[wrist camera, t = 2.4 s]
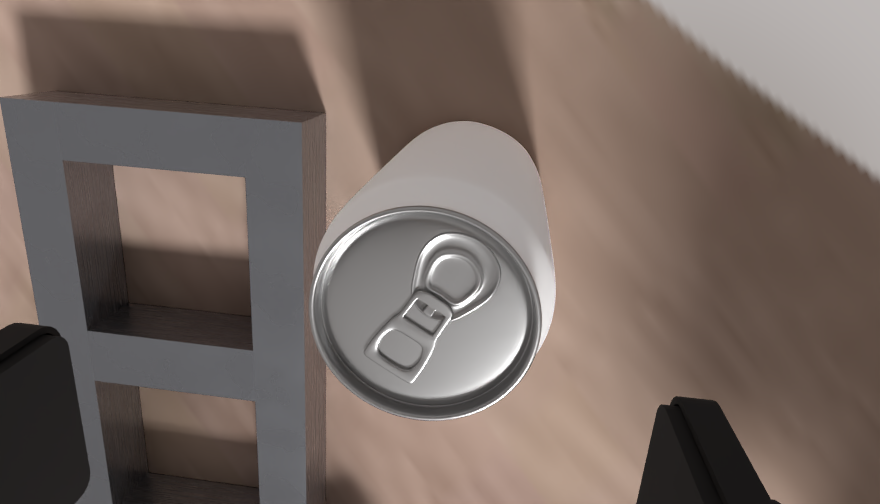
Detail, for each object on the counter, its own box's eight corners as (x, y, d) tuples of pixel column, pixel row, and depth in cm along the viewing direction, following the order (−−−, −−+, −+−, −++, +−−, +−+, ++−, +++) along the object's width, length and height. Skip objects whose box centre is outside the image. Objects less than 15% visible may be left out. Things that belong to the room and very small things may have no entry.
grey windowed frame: (325, 113, 25) (301, 122, 23) (325, 531, 33) (307, 578, 30) (54, 90, 26) (-1, 97, 24) (113, 500, 34) (77, 542, 31)
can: (575, 177, 25) (620, 293, 14) (484, 296, 27) (460, 479, 16) (442, 86, 24) (377, 129, 13) (361, 214, 27) (246, 345, 15)
